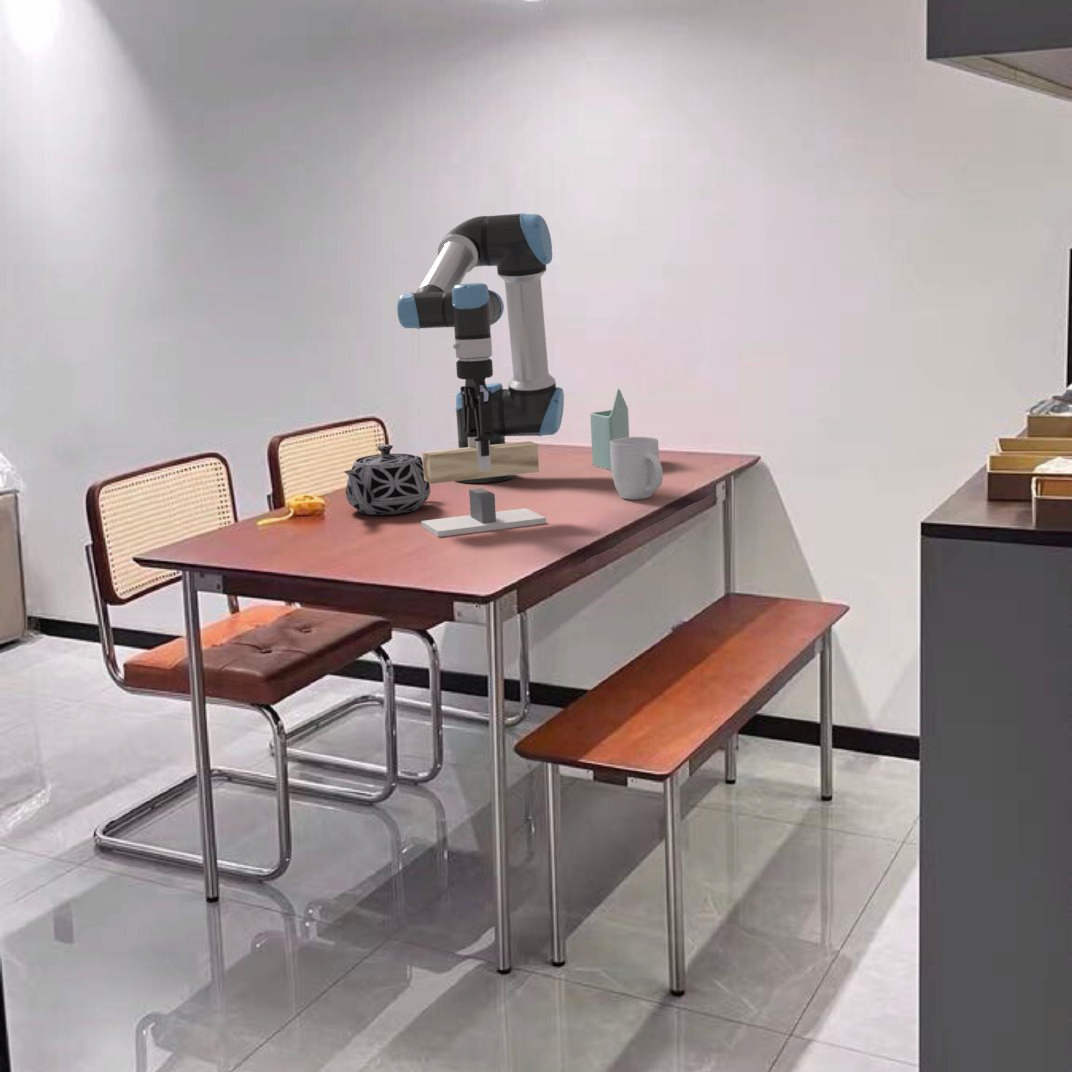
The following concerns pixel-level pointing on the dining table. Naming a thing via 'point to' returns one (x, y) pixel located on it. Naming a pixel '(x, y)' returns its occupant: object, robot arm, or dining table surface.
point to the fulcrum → (482, 517)
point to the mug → (636, 466)
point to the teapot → (387, 483)
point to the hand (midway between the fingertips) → (480, 468)
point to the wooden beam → (465, 465)
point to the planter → (608, 430)
